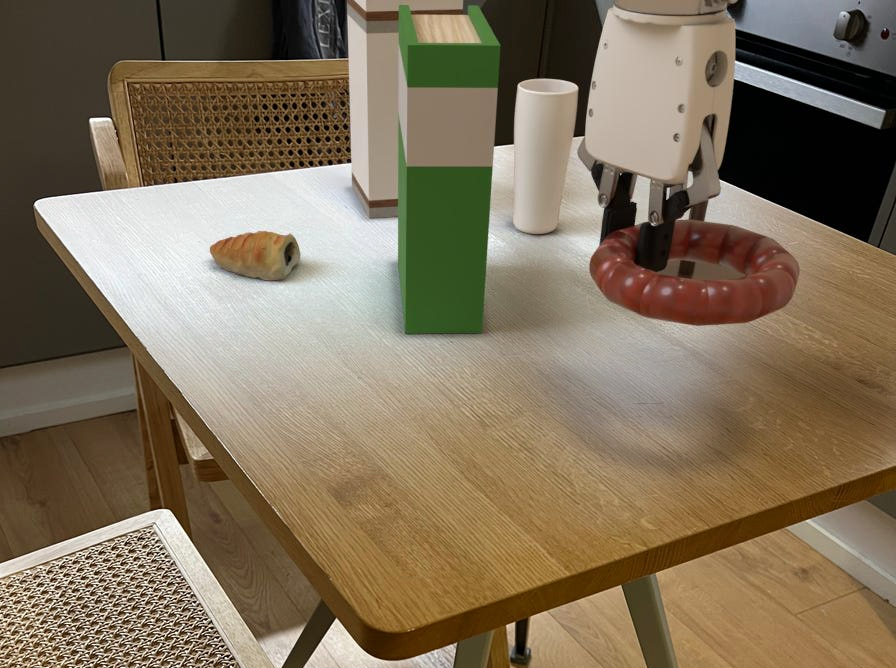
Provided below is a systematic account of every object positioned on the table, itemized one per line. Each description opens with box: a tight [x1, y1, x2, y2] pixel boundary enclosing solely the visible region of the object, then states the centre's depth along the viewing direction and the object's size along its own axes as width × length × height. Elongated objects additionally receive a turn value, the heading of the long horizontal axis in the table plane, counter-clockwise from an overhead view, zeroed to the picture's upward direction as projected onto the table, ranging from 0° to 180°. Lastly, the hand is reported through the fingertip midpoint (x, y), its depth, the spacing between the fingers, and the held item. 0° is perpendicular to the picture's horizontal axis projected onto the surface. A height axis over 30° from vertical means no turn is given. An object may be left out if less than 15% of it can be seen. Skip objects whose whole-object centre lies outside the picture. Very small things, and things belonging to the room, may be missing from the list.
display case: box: [346, 0, 464, 219], centre depth 110 cm, size 11×11×35 cm
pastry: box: [209, 230, 301, 281], centre depth 103 cm, size 9×7×4 cm
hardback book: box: [397, 4, 501, 335], centre depth 91 cm, size 18×7×24 cm, turn 3°
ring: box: [588, 219, 801, 327], centre depth 72 cm, size 15×15×3 cm
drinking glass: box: [512, 78, 579, 235], centre depth 110 cm, size 7×7×15 cm
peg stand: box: [657, 199, 747, 281], centre depth 98 cm, size 9×9×14 cm
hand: (631, 262), depth 77 cm, fingers closed on ring, 3 cm apart
